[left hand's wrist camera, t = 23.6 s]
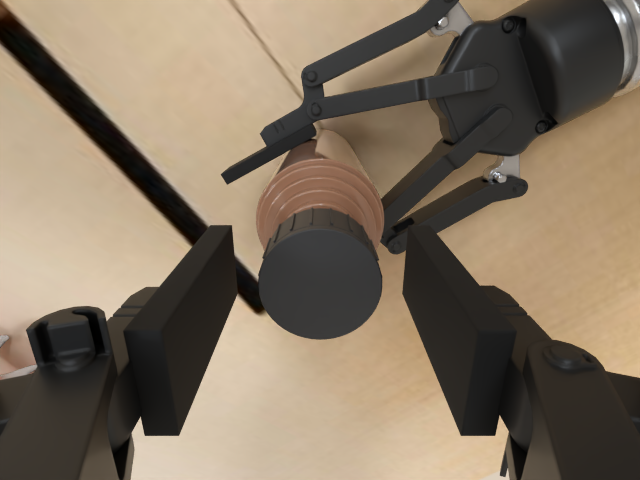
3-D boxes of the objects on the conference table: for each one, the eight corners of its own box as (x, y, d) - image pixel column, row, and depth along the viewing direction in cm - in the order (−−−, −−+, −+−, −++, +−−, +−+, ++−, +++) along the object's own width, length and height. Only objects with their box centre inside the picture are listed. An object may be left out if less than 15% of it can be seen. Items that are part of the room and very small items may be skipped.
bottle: (365, 140, 32) (437, 215, 12) (344, 208, 34) (378, 367, 14) (293, 120, 31) (248, 165, 12) (277, 191, 33) (215, 331, 14)
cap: (395, 268, 14) (408, 299, 12) (310, 323, 15) (308, 361, 13) (332, 183, 13) (334, 201, 11) (243, 248, 14) (229, 276, 12)
